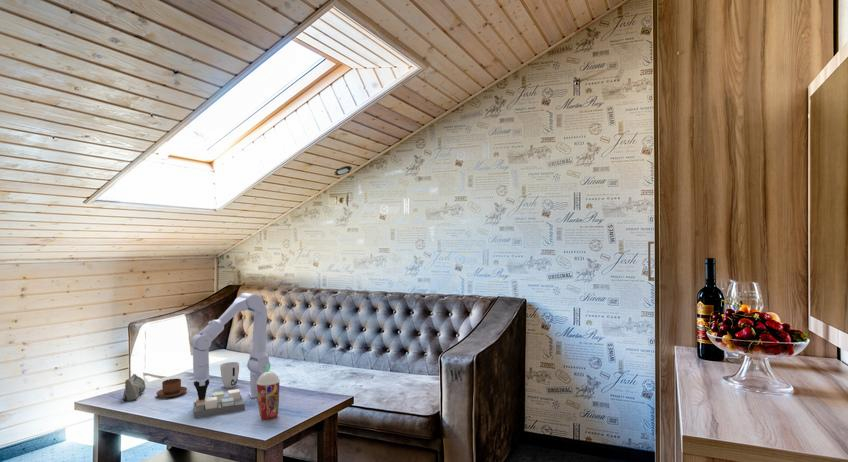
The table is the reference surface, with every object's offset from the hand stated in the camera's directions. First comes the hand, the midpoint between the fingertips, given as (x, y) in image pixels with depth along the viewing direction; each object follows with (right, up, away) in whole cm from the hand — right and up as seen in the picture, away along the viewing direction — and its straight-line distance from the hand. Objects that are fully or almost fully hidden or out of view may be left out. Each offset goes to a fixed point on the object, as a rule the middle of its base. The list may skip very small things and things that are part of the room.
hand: (201, 399), depth 202 cm
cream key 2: (+11, -2, +5) cm, 12 cm away
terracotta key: (0, -4, 0) cm, 3 cm away
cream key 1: (+5, -2, -4) cm, 7 cm away
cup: (-1, -4, +31) cm, 31 cm away
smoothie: (+30, -4, -11) cm, 32 cm away
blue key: (+11, -3, -1) cm, 11 cm away
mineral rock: (-37, -5, +20) cm, 42 cm away
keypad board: (+7, -4, 0) cm, 8 cm away
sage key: (+5, -2, +3) cm, 6 cm away
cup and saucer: (-22, -5, +20) cm, 30 cm away
